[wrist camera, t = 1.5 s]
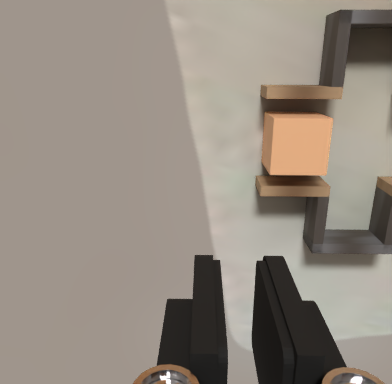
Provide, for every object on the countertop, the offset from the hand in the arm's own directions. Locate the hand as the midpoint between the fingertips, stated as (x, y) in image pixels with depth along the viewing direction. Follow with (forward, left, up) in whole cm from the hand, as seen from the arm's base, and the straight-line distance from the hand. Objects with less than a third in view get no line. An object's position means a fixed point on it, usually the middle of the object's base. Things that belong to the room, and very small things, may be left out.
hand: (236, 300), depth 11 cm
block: (-8, 0, -27) cm, 28 cm away
